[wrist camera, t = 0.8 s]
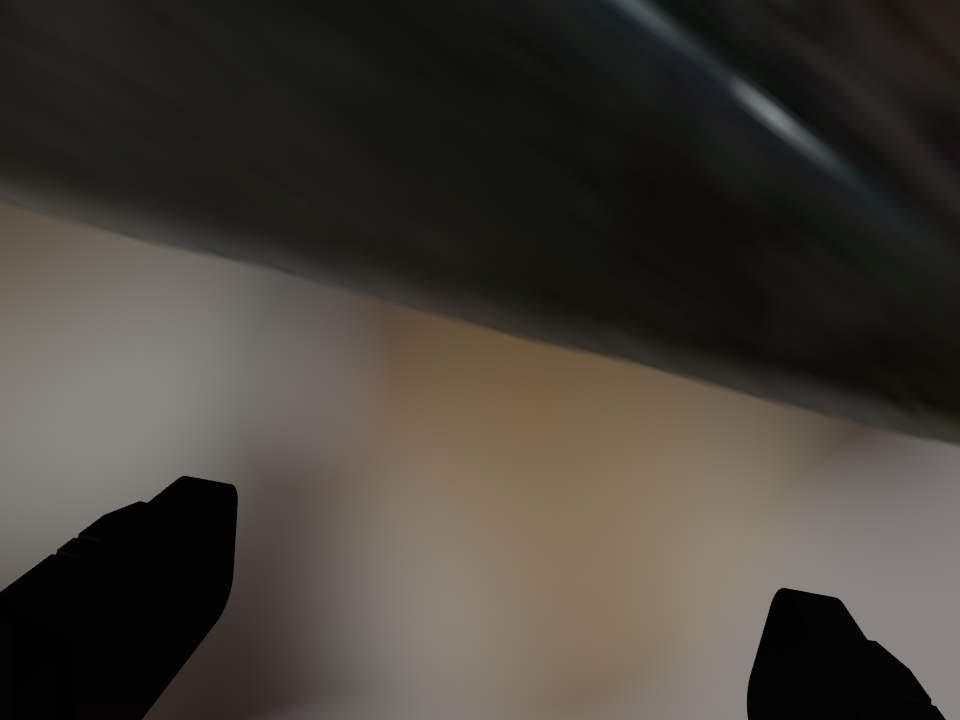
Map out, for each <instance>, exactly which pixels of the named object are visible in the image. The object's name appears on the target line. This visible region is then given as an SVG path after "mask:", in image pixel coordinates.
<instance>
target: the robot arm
mask: <svg viewBox="0 0 960 720" xmlns="http://www.w3.org/2000/svg"><path fill="white" fill-rule="evenodd" d="M237 506H238V496H237V490H236V488H235V487H234V485H232V484H227V483H221V482H216V481H211V480H205V479H200V478H194V477H189V476H182V477H180V478H178V479H177V480H176V481H175V482H173V483H172V484H171V485H169V486H168V487H167V488H166V489H164V490H163V491H162V492H161V493H159V494H158V495H157V496H156V497H154V498H153V499H152V500H151V501H149V502H148V503H146V502H141V501H139V502H137V503H134V504H131V505H128V506H126V507H123V508H121V509H118V510H116V511H113V512H110V513H108V514H105V515H103V516H102V517H101V518H99V519H98V520H97V521H95V522H94V523H93V524H91V525H90V526H89V527H87V528H86V529H85V530H83V531H82V532H81V533H79V536H78V538H73V539H71V540H70V541H69V542H67V543H66V544H64V545H63V546H62V547H60V548H59V549H58V550H57V553H56V555H54V554H51V555H50V556H48V557H47V558H46V559H44V560H43V561H42V562H40V563H39V564H38V565H36V566H35V567H34V568H32V569H31V570H29V571H28V572H27V573H25V574H24V575H23V576H21V577H20V578H19V579H17V580H16V581H15V582H13V583H12V584H11V585H9V586H8V587H7V588H5V589H4V590H3V591H1V592H0V720H142V719H143V717H144V716H145V715H146V713H147V712H148V711H149V709H150V708H151V707H152V706H153V704H154V703H155V702H156V700H157V699H158V698H159V696H160V695H161V694H162V693H163V691H164V690H165V689H166V687H167V686H168V685H169V683H170V682H171V681H172V680H173V678H174V677H175V676H176V674H177V673H178V672H179V670H180V669H181V668H182V667H183V665H184V664H185V662H186V661H187V660H188V659H189V657H190V656H191V655H192V654H193V652H194V651H195V650H196V648H197V647H198V646H199V644H200V643H201V642H202V640H203V639H204V638H205V637H206V635H207V634H208V633H209V631H210V630H211V629H212V627H213V626H214V625H215V624H216V622H217V621H218V619H219V618H220V616H221V614H222V613H223V610H224V608H225V606H226V603H227V601H228V598H229V595H230V591H231V587H232V581H233V571H234V555H235V554H234V553H235V538H236V521H237ZM747 714H748V720H946V719H945V718H944V717H943V715H942V714H941V712H940V711H939V710H938V708H937V707H936V706H933V705H932V704H931V698H930V697H929V696H928V694H927V693H926V691H925V690H924V689H923V687H922V686H921V684H920V683H919V682H918V680H917V679H916V677H915V676H914V675H913V673H912V672H911V670H910V669H909V668H907V667H906V666H905V665H904V664H903V663H901V662H900V661H899V660H898V659H897V658H895V657H894V656H893V655H892V654H891V653H889V652H888V651H887V650H886V649H885V648H884V647H882V646H881V645H880V644H879V643H878V642H876V641H870V640H867V638H866V637H865V635H864V634H863V632H862V631H861V630H860V628H859V626H858V625H857V623H856V622H855V620H854V619H853V617H852V616H851V614H850V613H849V611H848V610H847V608H846V607H845V606H844V604H843V603H842V602H841V600H839V599H838V598H835V597H830V596H825V595H819V594H814V593H809V592H803V591H798V590H793V589H787V588H781V589H779V590H778V591H777V592H776V594H775V596H774V598H773V600H772V603H771V606H770V610H769V613H768V616H767V620H766V623H765V627H764V630H763V634H762V637H761V640H760V644H759V647H758V651H757V654H756V658H755V661H754V665H753V668H752V672H751V675H750V679H749V684H748V691H747Z"/></svg>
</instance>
